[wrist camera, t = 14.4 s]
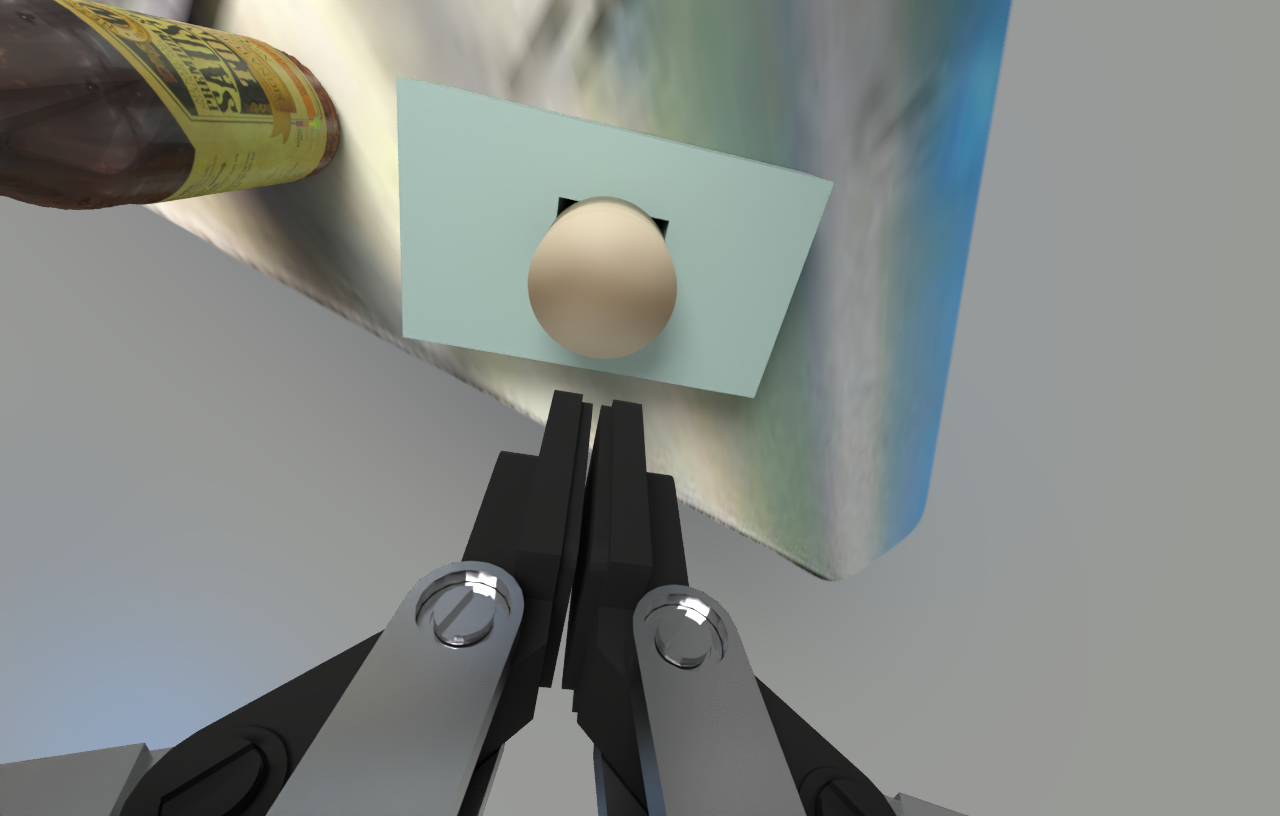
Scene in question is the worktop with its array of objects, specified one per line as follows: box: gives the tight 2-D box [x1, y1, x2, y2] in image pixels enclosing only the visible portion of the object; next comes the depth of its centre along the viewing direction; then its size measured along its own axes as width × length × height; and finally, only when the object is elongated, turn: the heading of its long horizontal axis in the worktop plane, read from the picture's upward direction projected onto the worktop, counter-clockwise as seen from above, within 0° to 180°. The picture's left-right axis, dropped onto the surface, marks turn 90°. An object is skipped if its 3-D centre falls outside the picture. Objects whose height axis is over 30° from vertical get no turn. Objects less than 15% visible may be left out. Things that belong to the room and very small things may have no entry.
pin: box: [528, 196, 677, 359], centre depth 26 cm, size 6×6×10 cm
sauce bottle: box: [0, 0, 339, 210], centre depth 18 cm, size 6×6×20 cm
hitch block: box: [396, 77, 834, 398], centre depth 28 cm, size 12×20×6 cm, turn 78°
